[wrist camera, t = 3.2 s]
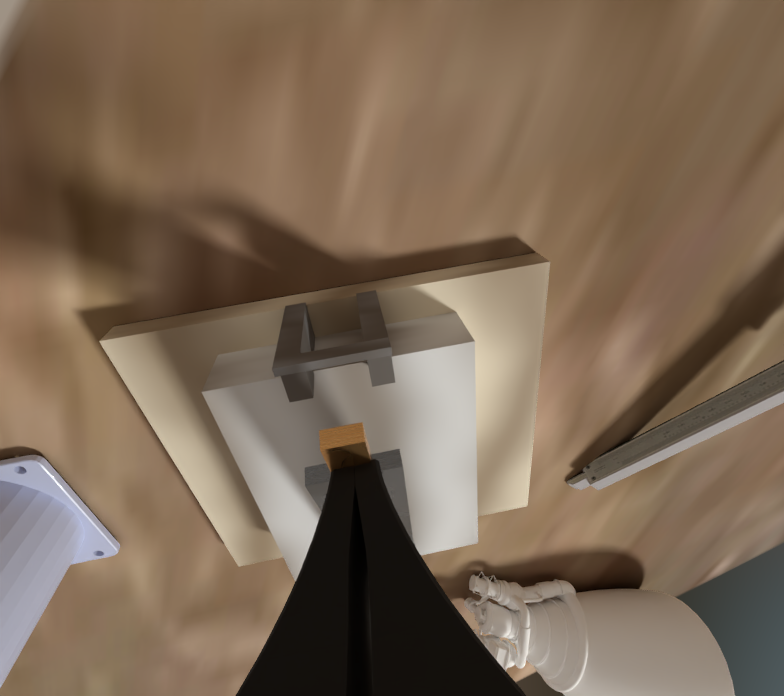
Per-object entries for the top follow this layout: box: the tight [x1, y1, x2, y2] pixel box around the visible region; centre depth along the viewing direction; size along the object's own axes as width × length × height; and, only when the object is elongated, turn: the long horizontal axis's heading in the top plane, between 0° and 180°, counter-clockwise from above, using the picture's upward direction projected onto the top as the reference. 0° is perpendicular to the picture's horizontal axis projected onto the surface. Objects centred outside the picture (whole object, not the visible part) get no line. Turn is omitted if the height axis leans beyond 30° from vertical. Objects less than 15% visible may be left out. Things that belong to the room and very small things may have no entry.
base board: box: [99, 253, 550, 582], centre depth 18 cm, size 18×16×6 cm
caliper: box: [567, 360, 784, 490], centre depth 20 cm, size 20×1×6 cm, turn 140°
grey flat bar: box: [305, 422, 414, 543], centre depth 15 cm, size 3×13×1 cm, turn 7°
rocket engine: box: [464, 572, 735, 696], centre depth 30 cm, size 12×12×18 cm
